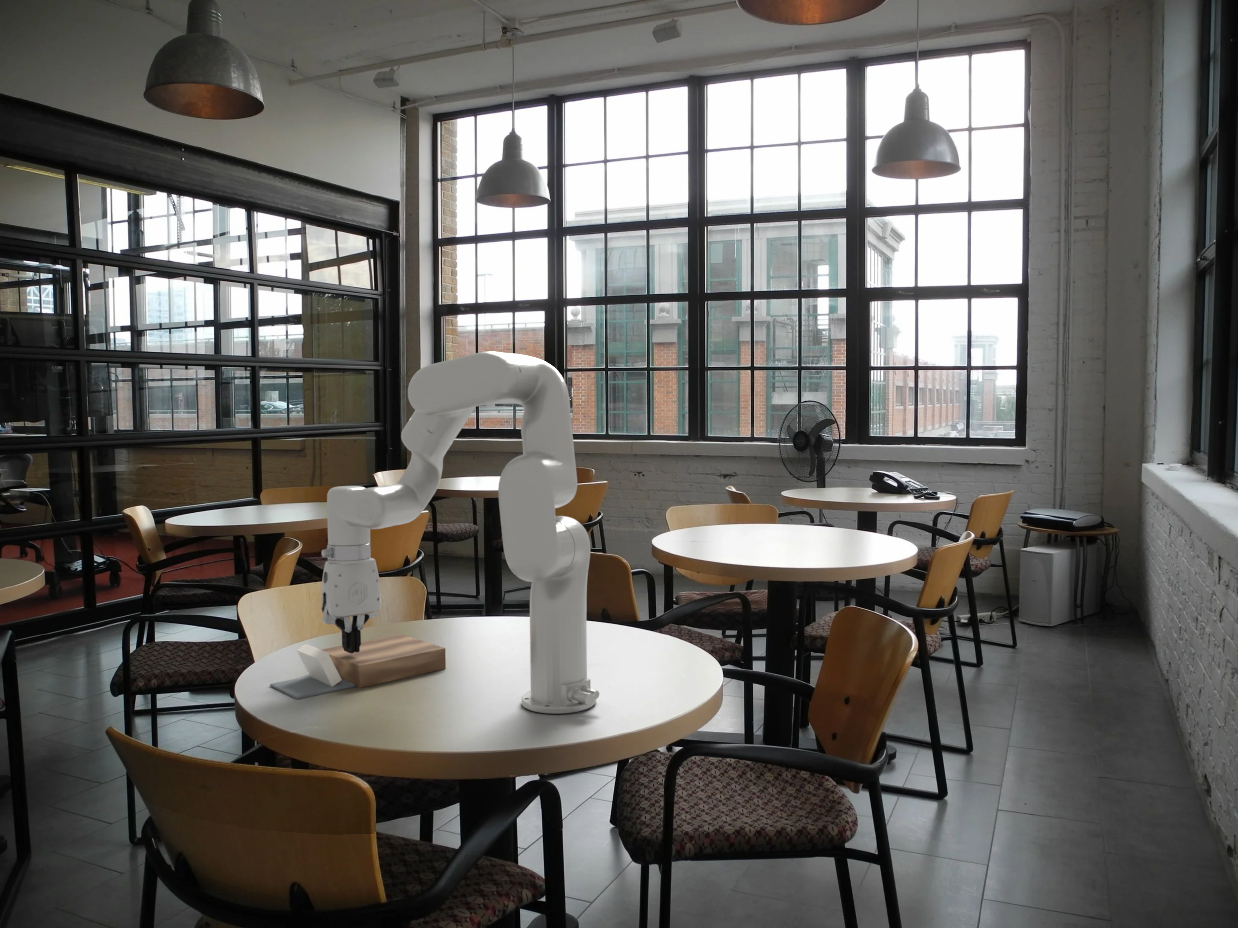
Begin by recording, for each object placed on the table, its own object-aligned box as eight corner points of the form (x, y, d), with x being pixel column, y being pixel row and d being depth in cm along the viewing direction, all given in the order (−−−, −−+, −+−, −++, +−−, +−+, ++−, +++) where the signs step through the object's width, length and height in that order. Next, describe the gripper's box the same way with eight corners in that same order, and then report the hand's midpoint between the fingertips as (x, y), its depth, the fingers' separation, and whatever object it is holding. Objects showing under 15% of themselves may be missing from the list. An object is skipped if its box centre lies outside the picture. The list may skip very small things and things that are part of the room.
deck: (445, 668, 181) (445, 648, 180) (359, 687, 168) (359, 665, 168) (402, 653, 192) (401, 634, 192) (318, 670, 180) (318, 649, 180)
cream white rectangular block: (327, 652, 167) (318, 658, 166) (341, 679, 169) (332, 686, 168) (305, 643, 174) (296, 649, 172) (319, 670, 176) (310, 676, 174)
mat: (354, 686, 169) (354, 684, 169) (297, 699, 162) (296, 696, 162) (326, 674, 177) (326, 672, 177) (270, 685, 170) (270, 683, 170)
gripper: (320, 559, 166) (322, 662, 167) (396, 551, 176) (397, 647, 177) (301, 555, 171) (304, 654, 172) (376, 547, 181) (378, 641, 182)
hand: (351, 651), depth 175 cm, fingers closed
